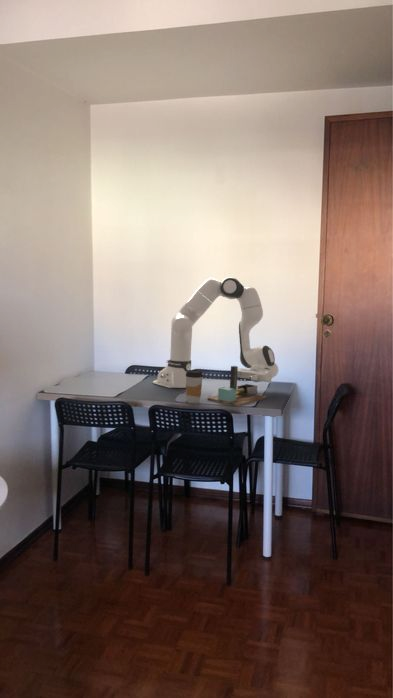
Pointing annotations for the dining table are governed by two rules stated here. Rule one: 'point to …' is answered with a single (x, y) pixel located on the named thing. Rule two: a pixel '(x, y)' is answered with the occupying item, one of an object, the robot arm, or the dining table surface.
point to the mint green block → (227, 394)
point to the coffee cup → (193, 385)
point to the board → (239, 400)
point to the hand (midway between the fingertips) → (242, 376)
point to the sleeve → (248, 390)
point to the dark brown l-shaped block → (235, 381)
